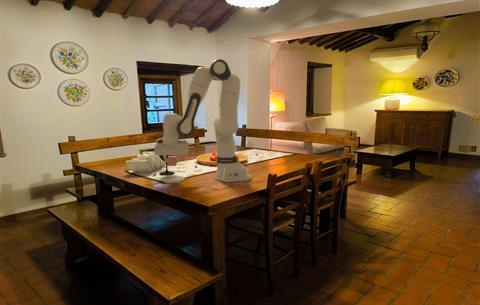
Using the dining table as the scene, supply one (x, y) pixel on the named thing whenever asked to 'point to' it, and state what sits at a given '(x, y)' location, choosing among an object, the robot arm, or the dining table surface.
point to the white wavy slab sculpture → (145, 162)
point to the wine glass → (166, 167)
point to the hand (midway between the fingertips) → (171, 162)
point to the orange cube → (171, 160)
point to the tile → (173, 179)
